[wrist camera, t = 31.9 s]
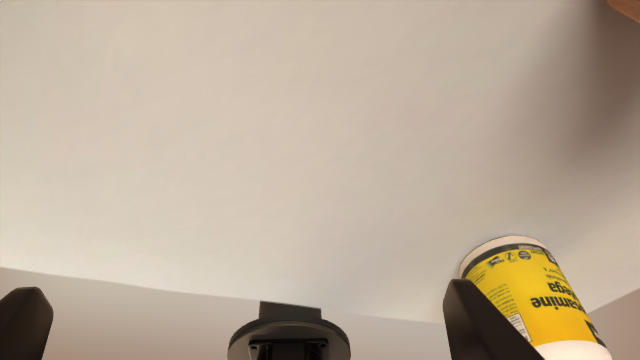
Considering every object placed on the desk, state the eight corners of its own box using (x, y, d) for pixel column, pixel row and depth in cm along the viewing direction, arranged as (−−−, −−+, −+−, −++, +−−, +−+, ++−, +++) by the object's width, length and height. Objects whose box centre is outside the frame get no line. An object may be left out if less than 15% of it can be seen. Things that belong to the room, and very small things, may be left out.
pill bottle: (566, 249, 29) (678, 423, 21) (501, 297, 32) (574, 465, 24) (500, 219, 27) (594, 400, 18) (438, 274, 30) (493, 449, 22)
